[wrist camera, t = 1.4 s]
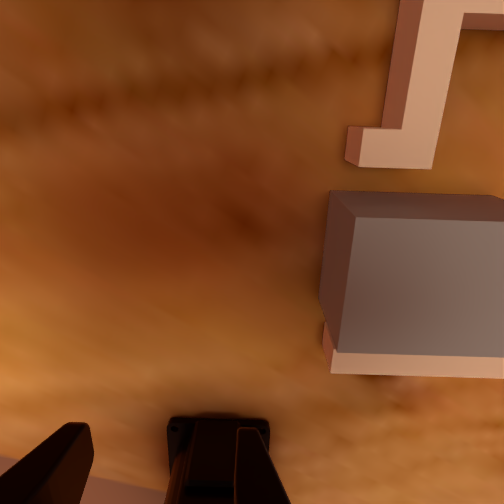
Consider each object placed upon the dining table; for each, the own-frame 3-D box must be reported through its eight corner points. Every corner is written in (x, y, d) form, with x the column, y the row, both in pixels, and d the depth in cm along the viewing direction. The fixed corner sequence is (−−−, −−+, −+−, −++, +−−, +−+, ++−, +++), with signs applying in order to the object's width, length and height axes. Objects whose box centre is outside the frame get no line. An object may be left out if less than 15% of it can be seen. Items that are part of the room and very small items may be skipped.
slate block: (460, 300, 20) (523, 358, 15) (317, 296, 20) (337, 352, 15) (489, 194, 18) (572, 224, 13) (329, 189, 18) (356, 217, 13)
